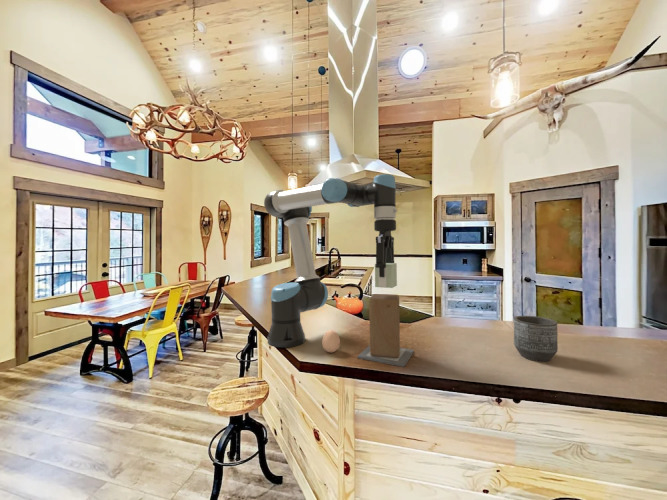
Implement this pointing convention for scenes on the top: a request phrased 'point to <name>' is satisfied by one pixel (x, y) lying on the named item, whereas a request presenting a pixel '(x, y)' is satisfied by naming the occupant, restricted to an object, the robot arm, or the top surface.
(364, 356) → the slate mat
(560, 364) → the top surface
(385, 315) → the wooden block
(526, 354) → the planter
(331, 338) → the egg
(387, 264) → the sage block
